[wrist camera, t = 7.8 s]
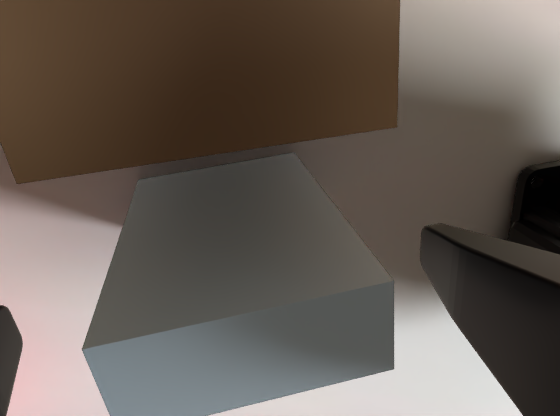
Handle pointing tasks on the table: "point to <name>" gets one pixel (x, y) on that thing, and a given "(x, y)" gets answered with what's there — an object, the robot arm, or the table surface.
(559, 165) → the robot arm
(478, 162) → the table surface
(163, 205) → the domino
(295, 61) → the domino
